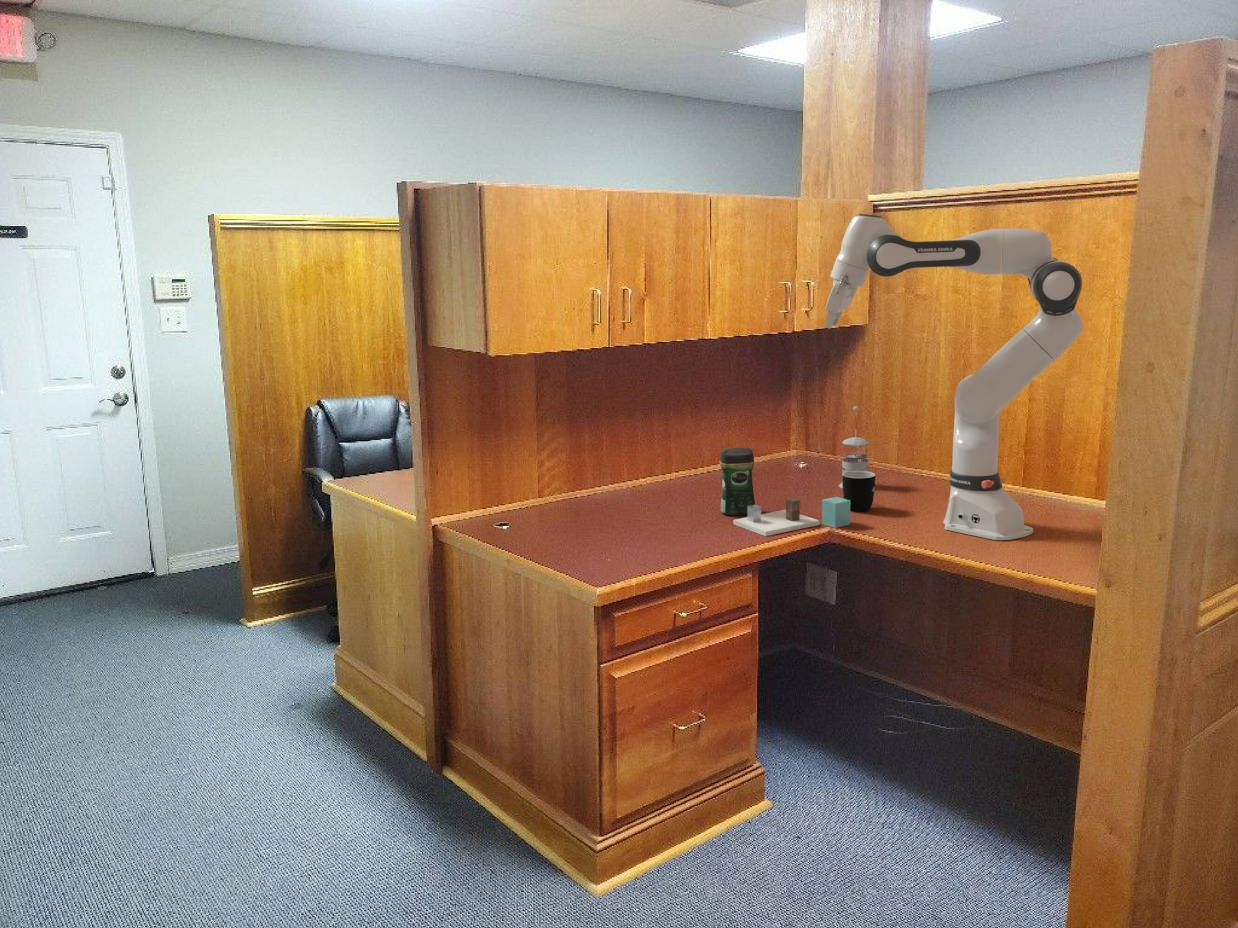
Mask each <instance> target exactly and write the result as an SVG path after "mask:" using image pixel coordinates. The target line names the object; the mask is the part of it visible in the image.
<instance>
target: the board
mask: <svg viewBox="0 0 1238 928" xmlns="http://www.w3.org/2000/svg"><path fill="white" fill-rule="evenodd" d="M732 522H733V525H735V526H737V527H739V528H742V529H746V530H747V531H750V532H754V533H756V534H759V535H762V536H764V537H769V536H773V535H777V534H782V533H787V532H791V531H792V532H793V531H797V530H801V529H802V530H803V529H806V528H810V527H816V526H820V520H818V519H816V518H813V517H810V516H807V515H803V514H801V513H800V520H796V521H790V520H787V519H786V509H782V510H776V511H772V512H766V513H761V521H759V522H754V523H753V522H750V521H748V520H747V516H746V517H741V518H736V519H733V520H732Z"/></svg>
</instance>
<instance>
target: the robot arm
mask: <svg viewBox="0 0 1238 928" xmlns="http://www.w3.org/2000/svg"><path fill="white" fill-rule="evenodd" d="M1051 243H1052V242H1051V240H1050V237H1049V236H1048V235H1047V234H1046V232H1044V231H1041V230H1035V229H1029V228H1017V227H1016V228H1015V227H1014V228H1009V227H1007V228H992V229H986V230H985V229H984V230H980V231H976V232H973V233H969V234H966V235H964V236H960V237H958V238H953V239H947V240H931V241H930V240H929V241H927V240H925V241H914V240H913V241H912V240H907V239H905V238H904V237H903V236H901V235H900V234H898V232H896V231H895V230H893V229H892V227H891V226H890V225H889V224H888V223H887V221H885V219H884V217H882V216H881V215H876V214H867V213H860V214H856V215H855V216H854V217H852V218H851V220H850V222H849V223H848V225H847V228H846V230H845V233H844V236H843V237H842V241H841V247H840V248H841V249H840V251H839V253H838V255H837V256H836V257H835V261H834V264H833V267H832V269H831V271H830V275H829V276H830V278H831V279H832V280H833V282H832V285H833V286H832V288H831V290H830V293H829V296H828V299H827V300H826V304H825V308H824V309H825V311H827V313H826V321H825V324H824V327H825V328H827V329H832V327H833V326H837V325H838V323H839V320H840V318H841V316H842V315H843V311H845V310H847V309H848V308H849V307H850V305H851V303H852V301H853V299H854V298H855V295H856V293H857V291H858V288H859V287H860V288H861V287H862V288H863V287H864V284H865V282H866V278H867V276H868V273H869V270H871V271H872V272H873V274H876V275H878V276H879V277H886V278H887V277H888V278H889V277H893V276H896V275H898V274H901V273H903V272H904V271H907V270H912V269H920V268H923V269H925V268H954V269H958V270H963V271H966V272H971V273H975V274H983V275H1021V276H1023V277H1026V278H1027V281H1028V285H1029V289H1030V292H1031V294H1032V296H1033V299H1034V300H1035V301H1037V303H1038V304H1039V306H1040V307H1039V310H1038V313H1037V314H1036V315H1035V316H1034V317H1033V319H1032V320H1031V321H1030V322H1029V323H1027V324H1026V325H1025V326H1024V327H1023V328H1021V329H1020V330H1019V331H1018V332H1016V334H1015V335H1014V336H1012V337H1011V338H1010V339H1009V340H1008V341H1007V342H1006V343H1005V344H1004V345H1003V346H1001V347H1000V348H999V349H998V350H997V351H996V352H995V353H994V354H993V355H992V356H991V357H990V358H989V359H988V360H987V361H986V362H985V363H984V364H983V365H982V366H981V367H980V368H979V369H978V370H977V371H976V372H975V373H972V374H969V375H967V376H965V377H964V378H963V379H962V380H960V382H959V383H958V385H957V387H956V390H955V395H954V422H953V425H954V426H953V437H952V438H953V439H952V458H951V459H952V460H951V461H952V463H951V464H952V465H951V470H950V472H949V485H950V492H949V499H948V504H947V508H946V513H945V515H944V519H943V525H944V530H946V531H950V532H954V533H955V532H956V533H961V534H964V535H970V536H974V537H980V538H983V539H989V540H993V541H1011V540H1016V539H1021V538H1025V537H1028V536H1030V535H1032V534H1033V533H1034V528H1033V527H1032V526H1028V525H1026V524H1025V522H1024V521H1025V518H1024V512H1023V509H1022V507H1021V506H1020V505H1019V504H1018V503H1017V502H1016V501H1015V500H1014V499H1013V498H1012V497H1011V495H1009V494H1008V493H1007V492H1006V491H1005V489H1003V488H1004V487H1003V483H1007V481H1006V479H1007V478H1006V477H1003V478H1001V477H1000V473H999V472H998V465H999V463H998V462H999V461H998V460H999V443H1000V439H999V438H1000V417H1001V416H1000V413H1001V411H1002V410H1004V408H1005V407H1006V406H1008V404H1009V403H1011V402H1012V400H1014V399H1015V398H1016V397H1017V396H1018V395H1019V394H1020V393H1021V391H1023V390H1024V389H1025V387H1027V386H1028V385H1029V384H1030V383H1031V382H1032V381H1033V380H1034V379H1035V378H1037V377H1038V375H1039V376H1040V374H1041V373H1043V371H1045V370H1046V369H1048V367H1049V366H1051V364H1053V363H1054V362H1055V361H1056V360H1057V359H1058V358H1060V357H1061V355H1064V353H1065V352H1066V351H1067V350H1068V349H1069V348H1070V347H1071V346H1072V345H1073V343H1074V342H1075V341H1076V340H1077V338H1078V337H1079V336H1080V335H1081V333H1082V332H1083V328H1084V323H1083V322H1084V321H1083V320H1082V317H1081V316H1080V314H1079V313H1078V312H1077V310H1075V308H1076V305H1077V302H1078V299H1079V297H1080V295H1081V292H1082V289H1083V279H1082V276H1081V273H1080V271H1079V270H1078V269H1077V267H1075V266H1074V265H1072V264H1071V263H1069V262H1067V261H1063V260H1059V259H1058V258H1055V257H1054V256H1053V255H1052V244H1051Z"/></svg>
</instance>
